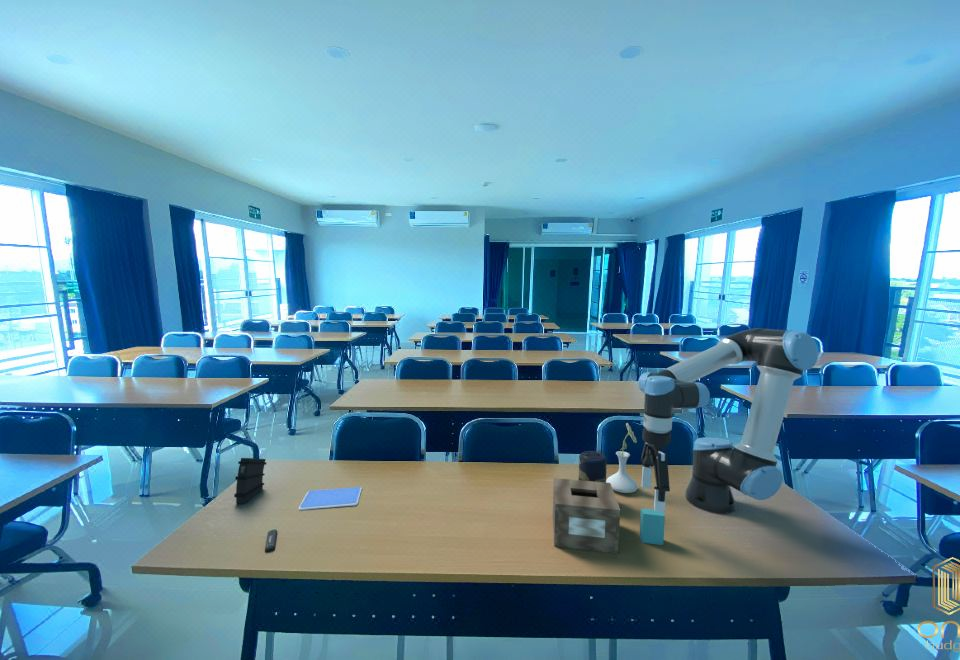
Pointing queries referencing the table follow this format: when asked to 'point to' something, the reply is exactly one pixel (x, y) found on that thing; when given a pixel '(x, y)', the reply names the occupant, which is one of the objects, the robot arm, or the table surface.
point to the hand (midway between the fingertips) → (652, 498)
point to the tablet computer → (331, 498)
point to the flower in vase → (623, 470)
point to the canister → (592, 466)
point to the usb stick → (271, 540)
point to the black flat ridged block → (249, 479)
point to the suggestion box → (585, 515)
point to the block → (652, 526)
